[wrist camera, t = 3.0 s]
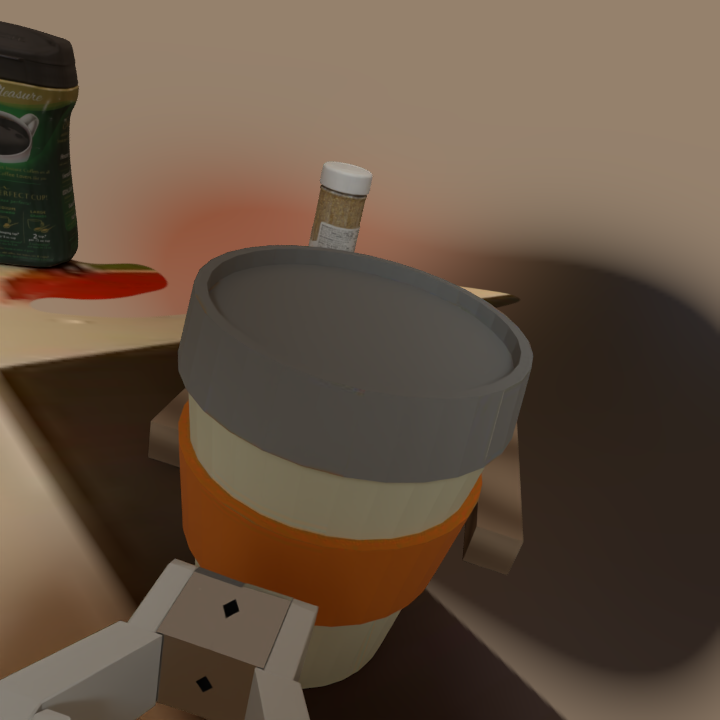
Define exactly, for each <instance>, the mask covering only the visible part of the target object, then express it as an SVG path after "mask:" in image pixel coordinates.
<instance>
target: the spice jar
mask: <svg viewBox="0 0 720 720" xmlns="http://www.w3.org/2000/svg"><path fill="white" fill-rule="evenodd" d="M371 181H372V174H371V172H369V171H368V170H366V169H364V168H361V167H358V166H355V165H351V164H347V163H341V162H326V163H324V165H323V169H322V174H321V179H320V183H321V184H322V185H321V187H320V188H321V190H320V195H319V200H318V205H317V211H316V216H315V220H314V224H313V227H312V231H311V237H310V242H309V246H311V247H322V248H330V249H337V250H344V251H349V252H354V250H355V246H356V241H357V237H358V233H359V229H360V221H361V217H362V212H363V208H364V203H365V200H366V197H367V194H368V193H369V191H370V186H371Z"/></svg>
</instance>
